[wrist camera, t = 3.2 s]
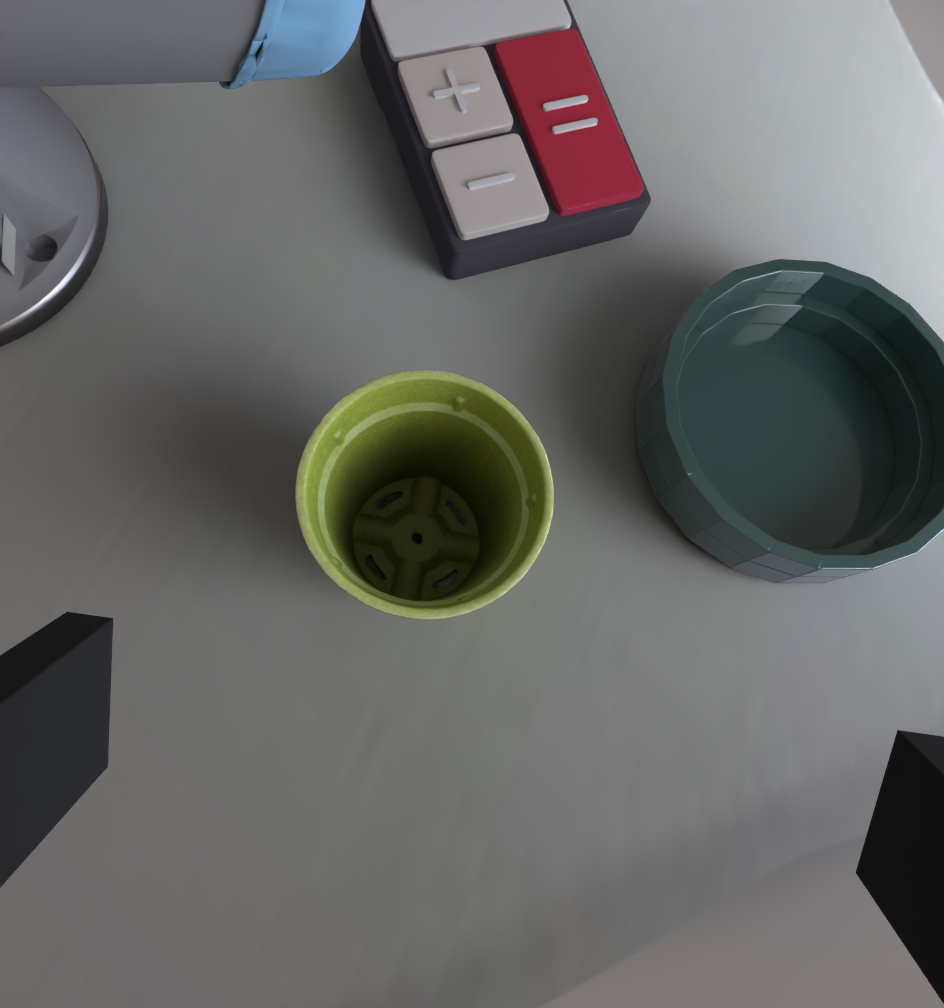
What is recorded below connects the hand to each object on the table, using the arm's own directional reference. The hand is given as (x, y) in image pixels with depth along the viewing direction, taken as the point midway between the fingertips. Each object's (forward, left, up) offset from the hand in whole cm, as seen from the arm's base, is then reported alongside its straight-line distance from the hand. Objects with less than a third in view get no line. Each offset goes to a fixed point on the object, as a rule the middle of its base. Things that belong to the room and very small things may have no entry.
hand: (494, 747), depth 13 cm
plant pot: (-8, +2, -22) cm, 24 cm away
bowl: (-7, +22, -22) cm, 32 cm away
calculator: (-28, +13, -22) cm, 38 cm away
